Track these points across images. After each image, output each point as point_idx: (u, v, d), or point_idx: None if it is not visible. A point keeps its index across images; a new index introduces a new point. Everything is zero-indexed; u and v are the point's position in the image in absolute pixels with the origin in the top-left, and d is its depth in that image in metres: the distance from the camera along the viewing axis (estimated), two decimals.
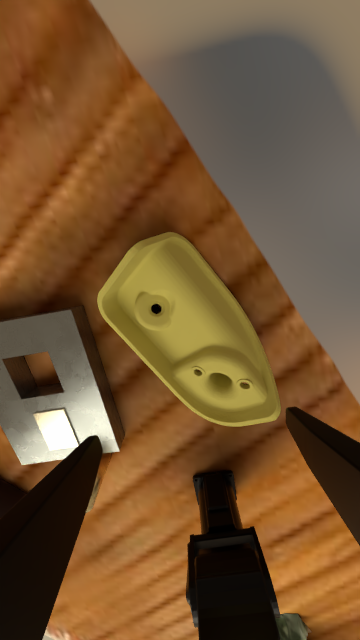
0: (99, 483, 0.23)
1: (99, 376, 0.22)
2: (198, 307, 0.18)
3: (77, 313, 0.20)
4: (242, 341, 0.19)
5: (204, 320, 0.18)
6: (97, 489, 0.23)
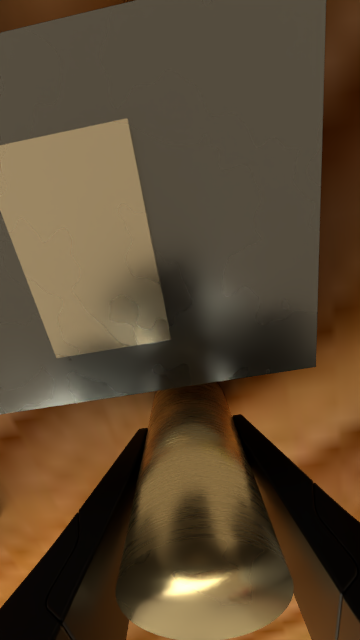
0: None
1: None
2: None
3: None
4: None
5: None
6: None
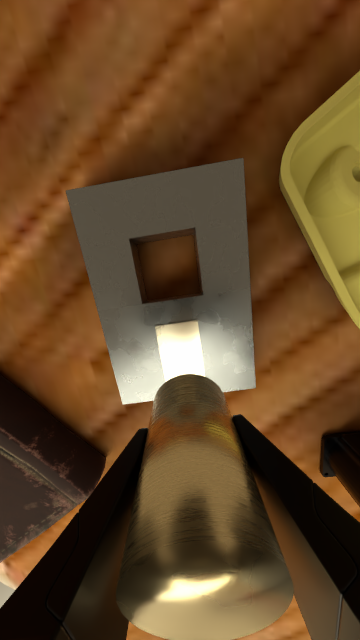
0: None
1: None
2: None
3: None
4: None
5: None
6: None
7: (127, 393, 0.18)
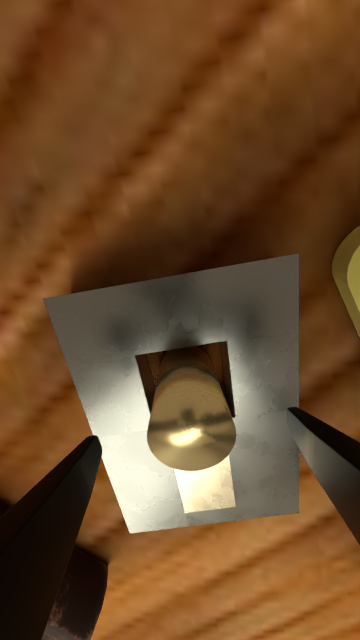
0: None
1: None
2: None
3: None
4: None
5: None
6: None
7: (135, 522, 0.14)
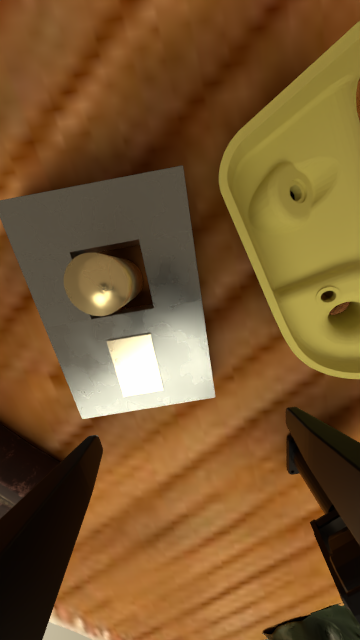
0: (133, 279, 0.13)
1: None
2: None
3: None
4: None
5: None
6: (131, 281, 0.12)
7: (85, 408, 0.18)
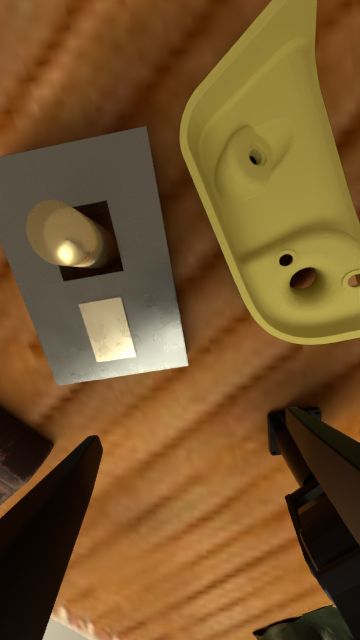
0: (98, 235, 0.13)
1: (169, 254, 0.16)
2: (323, 156, 0.12)
3: (150, 146, 0.14)
4: (356, 231, 0.14)
5: (324, 179, 0.13)
6: (95, 235, 0.13)
7: (60, 374, 0.18)
